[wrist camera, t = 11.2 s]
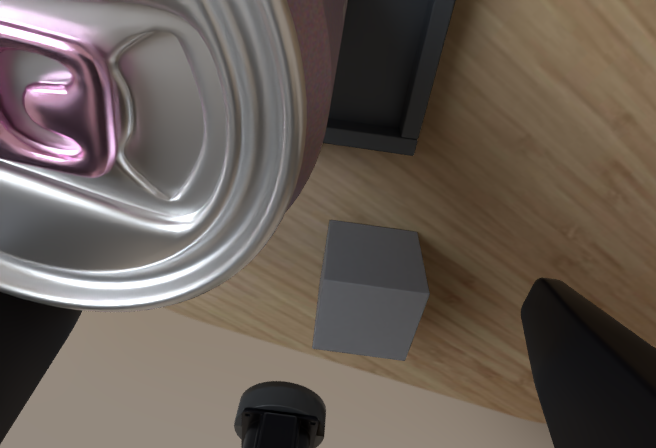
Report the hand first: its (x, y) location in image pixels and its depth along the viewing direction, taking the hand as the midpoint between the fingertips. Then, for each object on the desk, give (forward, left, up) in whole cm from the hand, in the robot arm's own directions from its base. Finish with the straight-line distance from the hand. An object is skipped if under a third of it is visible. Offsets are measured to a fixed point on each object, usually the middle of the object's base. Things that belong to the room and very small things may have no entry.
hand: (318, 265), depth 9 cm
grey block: (-10, -3, -13) cm, 16 cm away
